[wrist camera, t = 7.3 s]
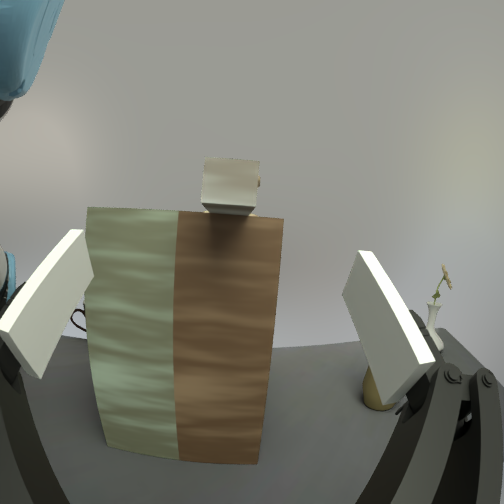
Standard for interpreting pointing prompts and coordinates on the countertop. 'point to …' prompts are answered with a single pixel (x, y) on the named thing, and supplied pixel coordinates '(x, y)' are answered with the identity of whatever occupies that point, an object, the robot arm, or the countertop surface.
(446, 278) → the flower in vase
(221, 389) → the stand
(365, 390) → the squeeze bottle
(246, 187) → the bobbin
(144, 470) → the countertop surface
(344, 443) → the countertop surface
